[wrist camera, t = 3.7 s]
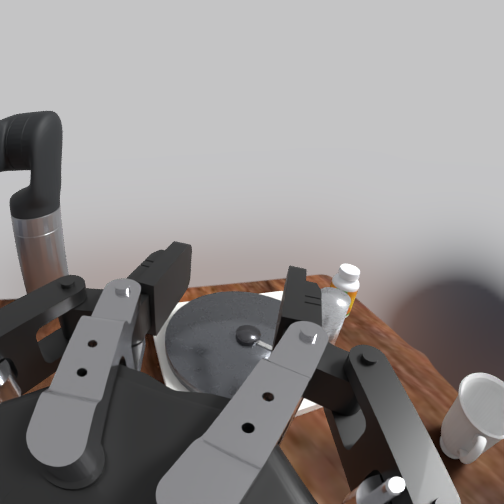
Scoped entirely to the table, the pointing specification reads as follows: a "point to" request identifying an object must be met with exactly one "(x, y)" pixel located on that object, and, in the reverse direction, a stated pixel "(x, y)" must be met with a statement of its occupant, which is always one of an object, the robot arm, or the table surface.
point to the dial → (233, 337)
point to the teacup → (474, 418)
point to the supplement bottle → (347, 282)
